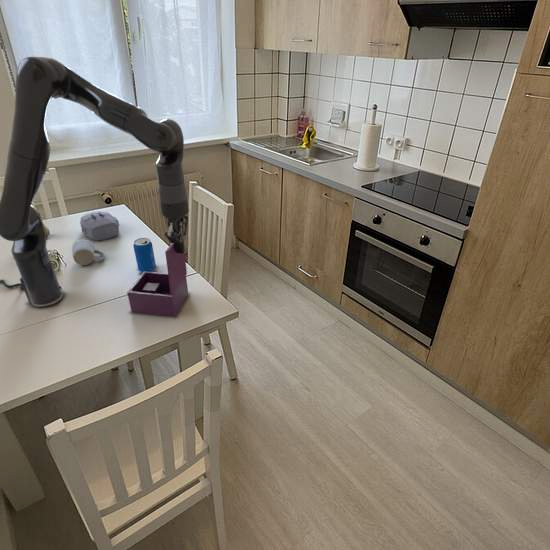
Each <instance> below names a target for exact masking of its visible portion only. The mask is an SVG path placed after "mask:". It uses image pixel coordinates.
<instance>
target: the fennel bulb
mask: <svg viewBox="0 0 550 550" xmlns="http://www.w3.org/2000/svg"><path fill="white" fill-rule="evenodd" d="M35 210H36V211H37V212H38V214H39V216H40V219H41V222H42V225H43V229H44V232H45V236H46V238H47V237H49V235H50V229H49V228H48V227H47V225H45V223H44V222H43V219H42V217H41V213H40V211H38V210H37V209H35Z"/></svg>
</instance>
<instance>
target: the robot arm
mask: <svg viewBox="0 0 550 550" xmlns="http://www.w3.org/2000/svg"><path fill="white" fill-rule="evenodd" d="M54 99H55V100H56V99H63V100H67V101H70V102H73V103H75V104H78V105H81V107H82V106H83V107H85V108H86V109H88V110H89V111H90V112H91V113H93V114H94V115H95V116H97V117H98V118H99V119H100V120H101V121H103V122H104V123H106V124H108V125H110V126H112V127H113V128H115V129H118V130H120V131H122V132H123V133H125V134H128V135H131V136H132V137H133V138H134V139H135V140H137V142H139V143H141V145H143V146H145V148H148V149H149V150H150V151H153V152H156V153H159V155H158V159H157V161H156V163H155V173H156V180H157V191H158V199H159V205H160V211H161V215H162V216H163V217H165V218H166V219H167V227H168V231H165V232H164V237H166V239H167V240H168V241H169V243H170V244H171V243H175V248H176V252H177V253H183V252H184V251H185V252H186V250H185V248H186V247H185V236H187V230H188V223H189V216H188V214H189V212H190V211H189V201H188V200H189V199H188V192H187V186H186V182H185V181H186V180H185V175H184V167H183V160H184V148H185V147H184V145H185V144H184V143H185V141H184V140H185V138H184V133H183V130H182V128H181V126H180V124H179V123H178V122H176V121H175V120H174V119H171V118H166V119H163V120H160V121H158V122H157V121H154V120H153V119H151V118H149V117H148V115H147V113H146V111H145V110H143V109H142V108H141V107H139V106H137V105H135V104H133V103H131V102H128V101H127V100H125V99H123V98H121V97H118V96H116V95H114V94H112V93H110V92H108V91H107V90H104V89H102V88H100V87H99V86H96V85H95V84H93V83H92V82H90V81H88V80H87V79H85V78H84V77H82V76H80V75H79V74H78V73H76V72H75V71H73V70H72V69H71V68H69V67H68V66H66V65H65V64H63V63H62V62H60V61H58V60H57V59H55V58H52V57H43V56H28V57H27V56H26V57H24V58H23V59H21V61H20V62H19V63H18V65H17V69H16V75H15V96H14V111H13V119H12V126H11V127H12V128H11V134H10V139H9V144H8V149H7V154H6V155H7V156H6V164H5V172H4V178H3V184H2V185H3V187H2V192H1V197H0V237H1V238H3V239H4V240H6V241H9V242H13V243H12V246H11V249H10V250H11V251H10V252H11V254H12V257H13V259H14V262H15V264H16V267H17V270H18V272H19V275H20V277H19V281H20V283H15V284H10V285H8V284H7V283H6V282H5V280H4V279H1V280H0V283H1V284H2V285H3V286H4V287H5V288H9V289H10V288H16V287H20V289H21V291H23V292H24V294H25V297H26V299H27V301H28V304H31V305H32V306H33V307H36V308H46V307H51V306H53V305H55V304H57V303H58V302H60V301H61V300H62V299H63V298H64V293H63V288H62V286H61V285H60V282H59V280H58V277H57V273H56V271H55V268H54V266H53V265H54V264H53V262H52V259H51V257H50V254H49V251H48V248H47V237H46V236H45V232H44V229H43V225H42V222H41V219H42V218H41V219H40V216H41V215H40V216H39V214H38V212H39V211H38V210H37V209H36V208H35V207H34V206H33V205H32V203H33V200H34V198H35V196H36V195H37V193H38V191H39V189H40V187H41V185H42V183H43V180H44V178H45V175H46V174H47V170H48V165H49V161H50V156H51V145H50V141H49V137H48V134H47V130H46V126H45V121H46V114H47V111H48V107H49V103H50V100H54ZM36 210H37V211H38V212H37V211H36Z"/></svg>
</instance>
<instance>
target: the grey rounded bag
mask: <svg viewBox="0 0 550 550" xmlns="http://www.w3.org/2000/svg"><path fill="white" fill-rule="evenodd" d="M79 224H80V228H81V231H82V232H83V234H85V235H86V236H87V237H88V238H89V239H92V240H94V241H104V240H108V239H111V238H114V237H116V236H118V235H119V232H120V224H119V219H118V218H117V217H116V216H113V214H111V213H110V212H108V211H104V210H103V211H102V210H97V211H91V212H88V213H85V214H84V215H82V216H81V217H80V221H79Z"/></svg>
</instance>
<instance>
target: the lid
mask: <svg viewBox="0 0 550 550" xmlns="http://www.w3.org/2000/svg"><path fill="white" fill-rule="evenodd" d="M164 253H165V261H166V269H167V273H168V277H169V285H170V293H171V295H172V296H173V295H174V294H175V292H176V290H177V289H178V287H179V286H180V284H181V282H182V281H183V279H184V278H185V276H186V277H187V274H188V271H187V261H186V250H185V251H184V252H183V253H177V252H176V248H175V243H171V242H170V245H169V246H168V247H167V248H166V250H165V252H164Z"/></svg>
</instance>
